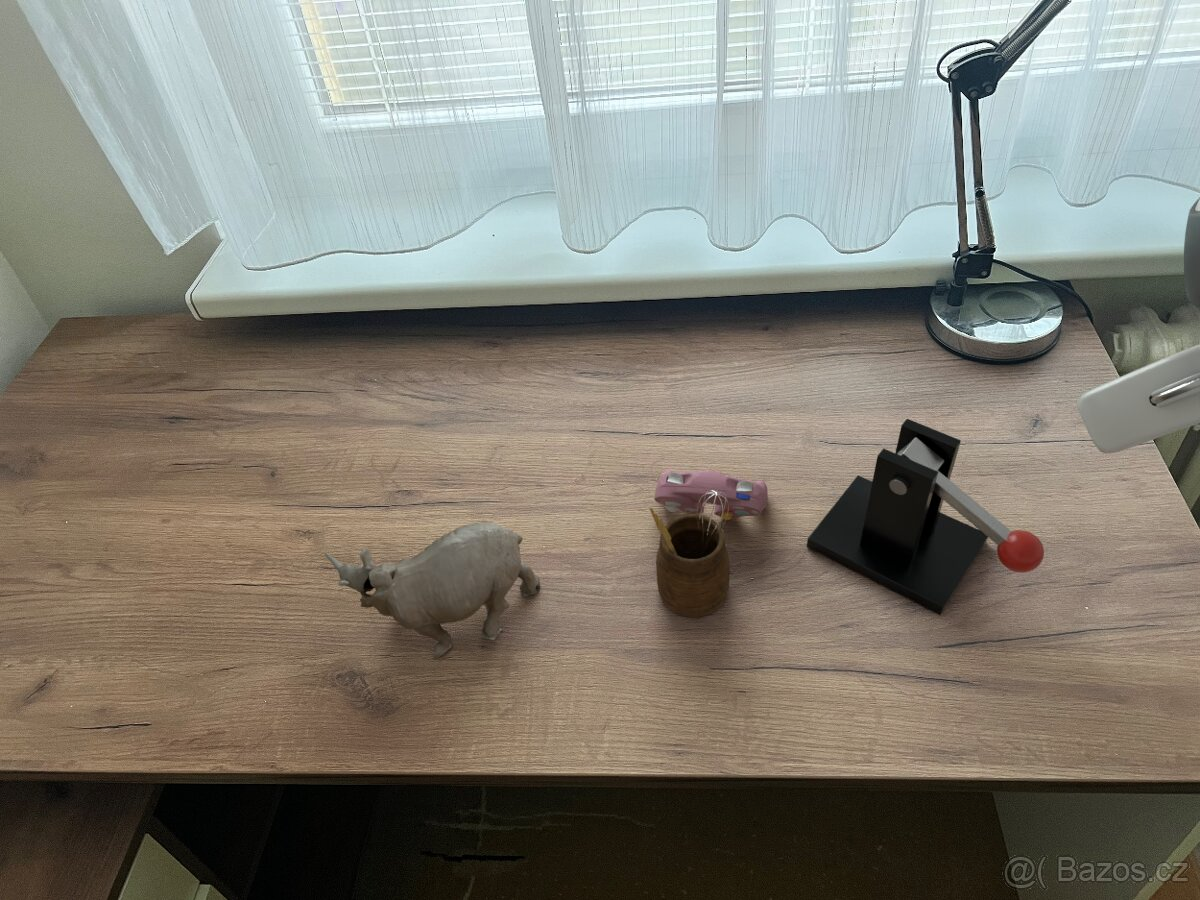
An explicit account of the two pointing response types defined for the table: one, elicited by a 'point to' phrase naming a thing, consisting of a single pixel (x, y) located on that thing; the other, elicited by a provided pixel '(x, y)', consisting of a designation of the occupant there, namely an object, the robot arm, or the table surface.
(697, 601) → the utensil holder
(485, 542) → the rhinoceros figurine
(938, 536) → the bracket
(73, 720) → the table surface
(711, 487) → the pink toy car
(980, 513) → the lever
